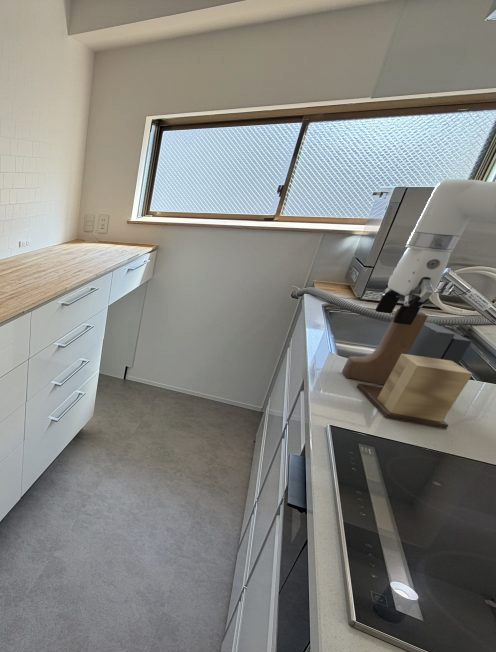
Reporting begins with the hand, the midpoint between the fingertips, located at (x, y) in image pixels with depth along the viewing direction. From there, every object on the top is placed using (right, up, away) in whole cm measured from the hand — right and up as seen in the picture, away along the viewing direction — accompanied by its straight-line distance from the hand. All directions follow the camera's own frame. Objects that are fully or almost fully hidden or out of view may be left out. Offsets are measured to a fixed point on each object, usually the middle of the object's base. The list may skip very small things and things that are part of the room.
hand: (391, 317), depth 98 cm
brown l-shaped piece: (0, -15, +7) cm, 16 cm away
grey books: (+9, -16, +4) cm, 19 cm away
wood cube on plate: (-5, -21, -6) cm, 22 cm away
